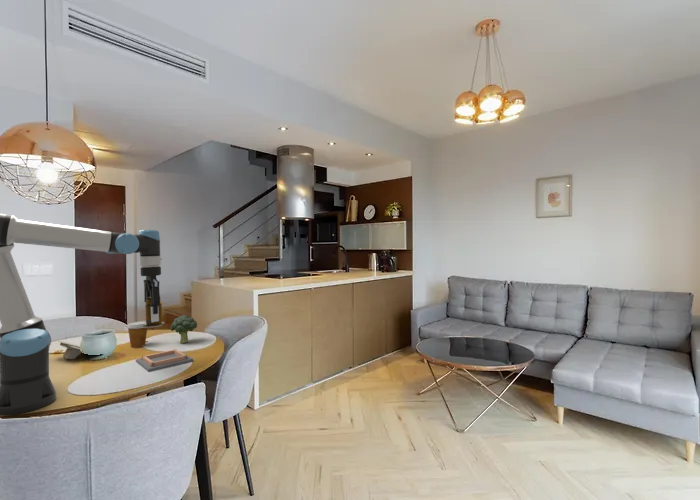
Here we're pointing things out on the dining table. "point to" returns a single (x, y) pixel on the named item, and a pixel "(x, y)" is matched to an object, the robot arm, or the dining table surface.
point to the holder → (163, 360)
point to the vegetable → (183, 326)
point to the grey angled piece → (70, 350)
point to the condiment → (148, 315)
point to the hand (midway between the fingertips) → (152, 320)
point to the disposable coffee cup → (137, 333)
